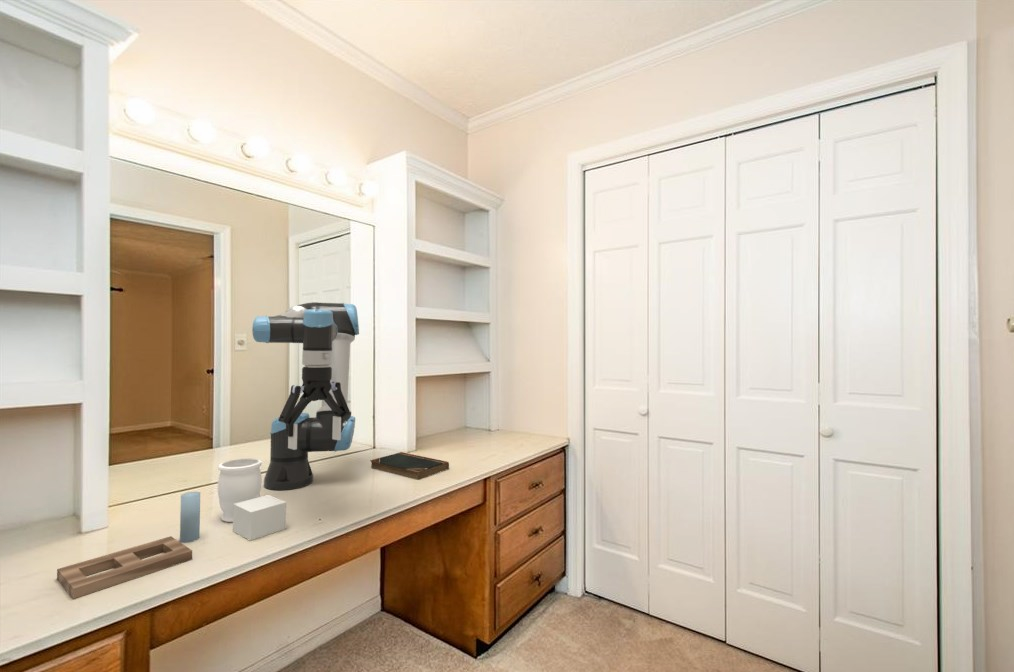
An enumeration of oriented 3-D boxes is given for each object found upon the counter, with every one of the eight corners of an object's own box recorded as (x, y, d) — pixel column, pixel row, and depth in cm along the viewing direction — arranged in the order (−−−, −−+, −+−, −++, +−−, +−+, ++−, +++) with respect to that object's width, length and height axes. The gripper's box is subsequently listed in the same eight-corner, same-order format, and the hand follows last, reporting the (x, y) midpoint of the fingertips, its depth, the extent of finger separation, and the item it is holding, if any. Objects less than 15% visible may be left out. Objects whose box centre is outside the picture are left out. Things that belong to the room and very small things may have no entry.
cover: (232, 531, 120) (233, 504, 120) (267, 520, 127) (268, 494, 127) (250, 540, 115) (250, 512, 115) (285, 528, 122) (286, 502, 122)
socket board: (57, 578, 95) (57, 569, 95) (170, 544, 112) (171, 536, 112) (73, 599, 88) (73, 588, 88) (192, 559, 105) (192, 550, 105)
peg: (177, 539, 115) (178, 494, 115) (195, 534, 118) (196, 490, 118) (183, 543, 112) (184, 498, 112) (202, 538, 116) (203, 493, 115)
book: (369, 469, 179) (417, 481, 165) (369, 460, 179) (417, 471, 165) (402, 459, 193) (448, 470, 180) (402, 451, 193) (449, 460, 180)
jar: (251, 506, 137) (252, 455, 137) (267, 516, 130) (268, 462, 130) (210, 517, 129) (212, 463, 129) (225, 527, 122) (226, 470, 122)
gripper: (282, 369, 115) (280, 455, 115) (362, 365, 136) (361, 437, 136) (264, 367, 119) (263, 450, 119) (345, 363, 140) (344, 434, 140)
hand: (315, 444), depth 127 cm, fingers open, 13 cm apart
